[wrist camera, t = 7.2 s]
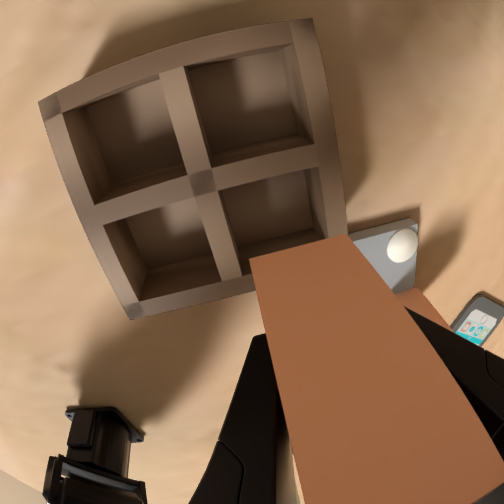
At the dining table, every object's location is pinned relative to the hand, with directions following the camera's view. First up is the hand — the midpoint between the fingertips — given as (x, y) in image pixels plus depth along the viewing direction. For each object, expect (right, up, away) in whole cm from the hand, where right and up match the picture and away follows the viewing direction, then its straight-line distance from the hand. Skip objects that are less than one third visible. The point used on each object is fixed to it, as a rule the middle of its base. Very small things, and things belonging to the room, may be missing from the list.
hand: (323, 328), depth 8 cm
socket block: (-4, +7, +8) cm, 11 cm away
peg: (0, +1, +2) cm, 2 cm away
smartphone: (+19, -9, +21) cm, 29 cm away
